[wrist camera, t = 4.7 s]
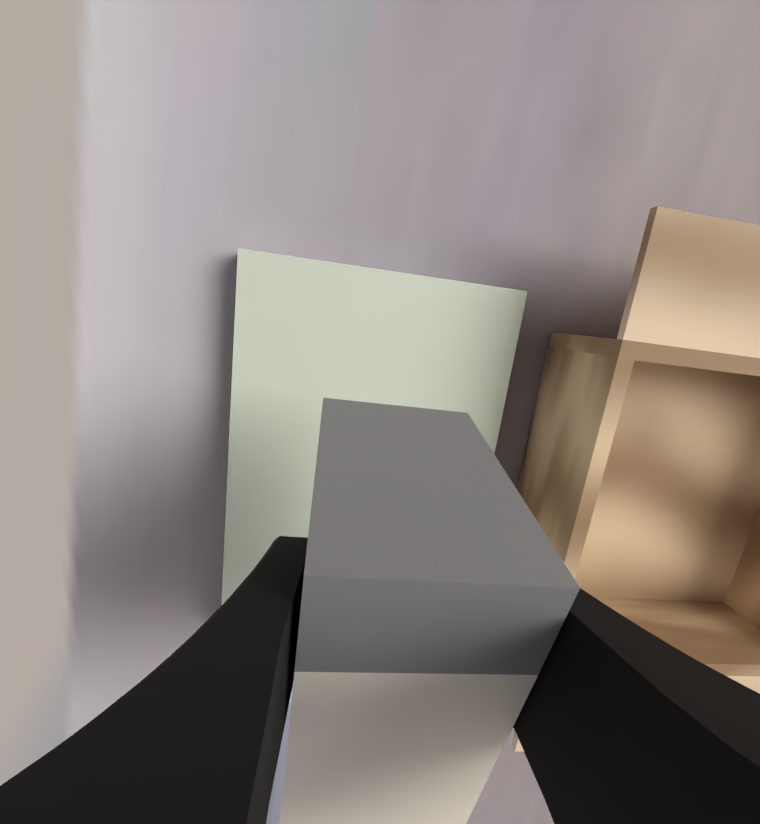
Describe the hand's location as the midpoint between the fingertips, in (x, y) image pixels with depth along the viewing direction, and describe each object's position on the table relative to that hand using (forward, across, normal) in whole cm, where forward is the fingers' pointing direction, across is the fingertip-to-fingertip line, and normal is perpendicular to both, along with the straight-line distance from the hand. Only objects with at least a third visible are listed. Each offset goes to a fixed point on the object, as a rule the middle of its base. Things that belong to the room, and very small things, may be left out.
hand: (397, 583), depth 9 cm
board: (+9, 0, +1) cm, 9 cm away
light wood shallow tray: (+9, -14, +1) cm, 17 cm away
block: (+4, 0, +1) cm, 4 cm away
